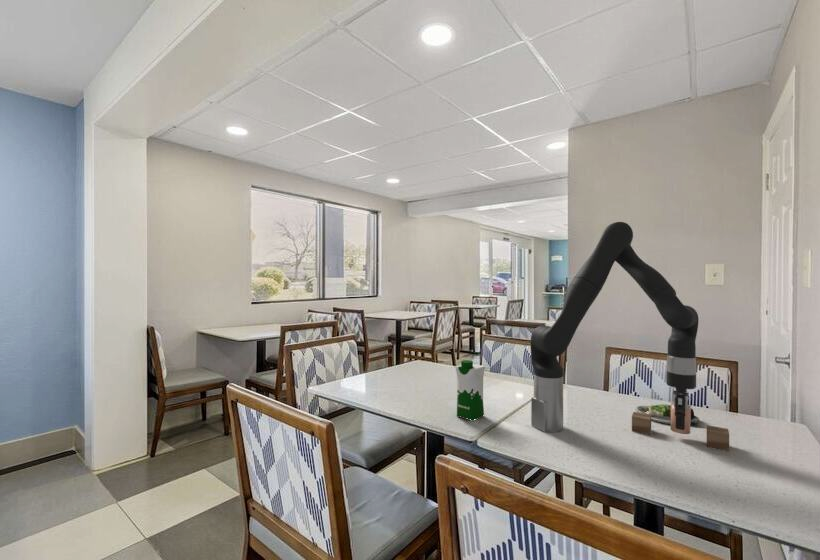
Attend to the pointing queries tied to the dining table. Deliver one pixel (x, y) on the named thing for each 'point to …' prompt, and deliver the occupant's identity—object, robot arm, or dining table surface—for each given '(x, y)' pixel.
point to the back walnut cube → (641, 423)
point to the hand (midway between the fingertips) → (680, 426)
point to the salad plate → (663, 413)
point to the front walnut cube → (717, 438)
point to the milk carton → (470, 390)
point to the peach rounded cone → (687, 420)
